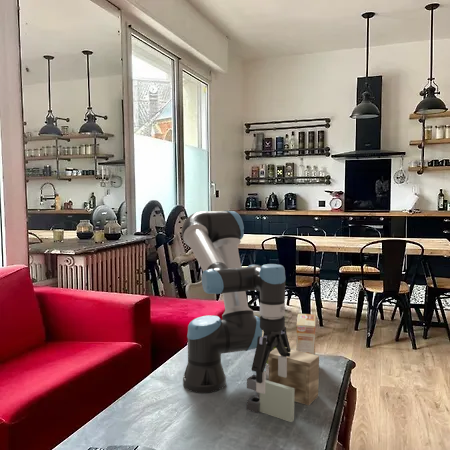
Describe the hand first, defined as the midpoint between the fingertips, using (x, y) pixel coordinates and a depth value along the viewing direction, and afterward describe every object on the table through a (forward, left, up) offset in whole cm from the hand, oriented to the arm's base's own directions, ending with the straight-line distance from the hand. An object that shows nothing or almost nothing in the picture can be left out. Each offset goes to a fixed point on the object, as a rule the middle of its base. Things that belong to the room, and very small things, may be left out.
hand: (272, 384), depth 138 cm
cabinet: (-1, +12, -10) cm, 16 cm away
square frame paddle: (0, 0, -10) cm, 10 cm away
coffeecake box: (-6, +37, -10) cm, 39 cm away
